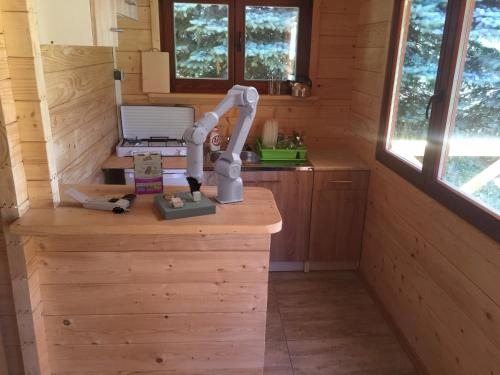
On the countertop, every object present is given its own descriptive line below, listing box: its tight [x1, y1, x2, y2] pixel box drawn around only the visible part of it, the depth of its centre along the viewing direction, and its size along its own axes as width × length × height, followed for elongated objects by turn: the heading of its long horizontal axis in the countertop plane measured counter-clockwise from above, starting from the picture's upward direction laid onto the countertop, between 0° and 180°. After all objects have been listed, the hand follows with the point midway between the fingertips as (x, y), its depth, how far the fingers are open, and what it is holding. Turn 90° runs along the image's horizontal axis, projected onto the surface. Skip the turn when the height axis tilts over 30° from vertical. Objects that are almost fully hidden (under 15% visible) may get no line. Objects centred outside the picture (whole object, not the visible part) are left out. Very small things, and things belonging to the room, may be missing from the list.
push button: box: [165, 193, 175, 200], centre depth 156 cm, size 4×4×3 cm
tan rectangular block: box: [193, 191, 201, 201], centre depth 152 cm, size 2×2×3 cm
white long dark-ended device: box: [62, 186, 131, 212], centre depth 151 cm, size 6×6×25 cm
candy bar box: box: [132, 150, 164, 195], centre depth 167 cm, size 11×5×16 cm, turn 106°
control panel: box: [153, 190, 217, 221], centre depth 153 cm, size 18×18×5 cm
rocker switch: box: [171, 197, 183, 208], centre depth 147 cm, size 3×5×1 cm, turn 25°
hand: (194, 196), depth 154 cm, fingers closed
